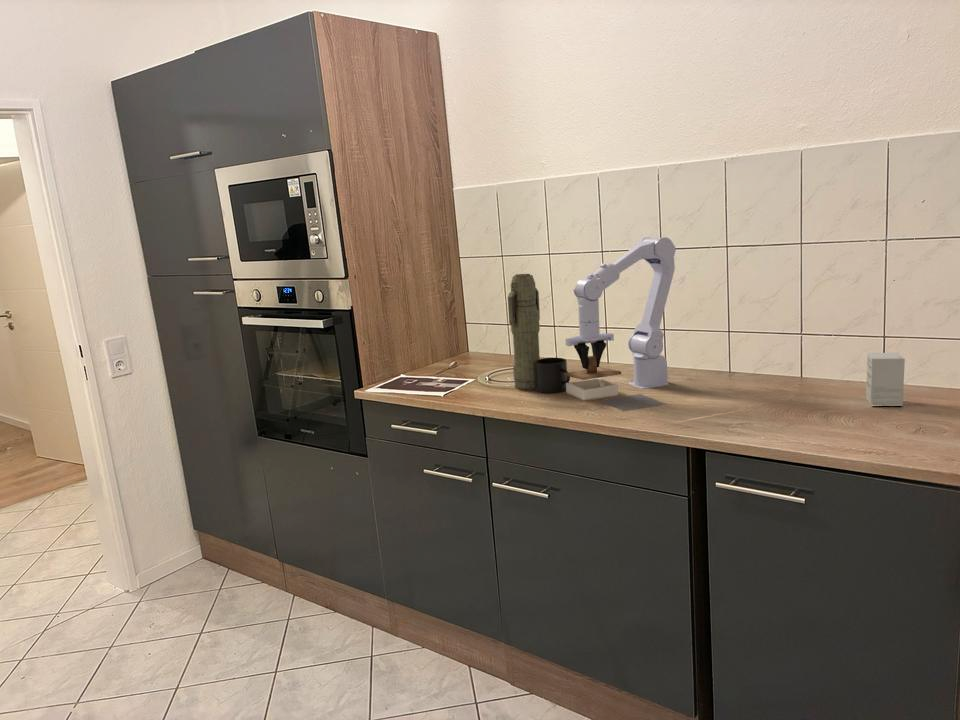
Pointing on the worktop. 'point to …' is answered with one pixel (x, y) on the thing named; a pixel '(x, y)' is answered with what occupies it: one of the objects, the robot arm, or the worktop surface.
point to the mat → (632, 402)
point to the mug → (551, 375)
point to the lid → (592, 371)
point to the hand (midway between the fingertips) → (590, 367)
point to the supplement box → (885, 379)
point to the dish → (591, 389)
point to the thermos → (524, 329)
